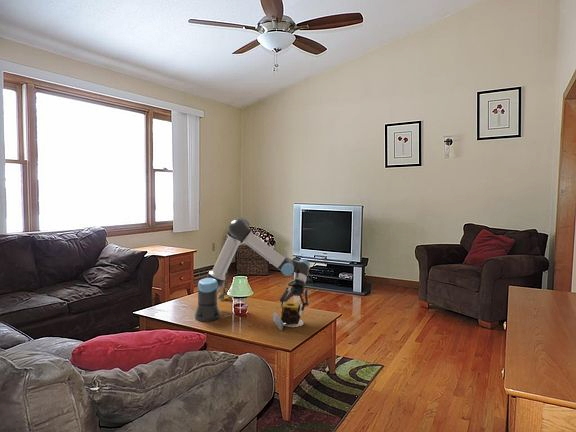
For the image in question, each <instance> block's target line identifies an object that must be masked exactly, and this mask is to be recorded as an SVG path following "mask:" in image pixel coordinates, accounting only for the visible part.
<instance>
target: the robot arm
mask: <svg viewBox="0 0 576 432" xmlns="http://www.w3.org/2000/svg"><path fill="white" fill-rule="evenodd" d="M226 237H227V239H226V240H225V241H224V244H223V247H222V249H221V251H220V253H219V255H218V257H217V260H216V262H215V264H214V265H213V268H212V270H209V271H208V273H207V275H206V277H204V278H202V279H200V280H198V283H197V308H196V311H195V314H194V319H195V320H196V321H199V322H213V321H217V320H219V319H220V318H221V312H220V310H219V309H220V308H219V307H218V294H219V292H221V291H222V290H223V285H224V281H225V273H226V271H227V270H228V269H229V267H230V265H231V262H232V260H233V259H234V256H235V254H236V252H237V250H238V248H239V246H240V243H241V244H245V245H247V246H248V247H249V248H250V249H252V250H253V251H254V252H256V253H257V254H258V255H260V256H261V257H262V258H264V259H265V260H266V261H268V262H269V263H270V264H271V265H273V266H274V267H275V268H277V269H278V270H279V271H280V272H281V274H283V276H286V277H287V276H288V277H289V276H292V274H295V275H294V278H293V281H292V286H291V288H290V287H285V291H284V293H282V295H281V296H280V298H279V302H280V303H281V305H280V308H281V309H280V313H281V312H282V305H283V304H284V302H289V301H288V300H290V299H291V298H292V297H294V296H296V297H299V298H300V301H301V302H302V303H300V310H299V316H300V317H302V312H303V311H305V308H306V306H307V307H308V306H309V297H308V295H309V290H308V289H305V286H306V281H307V277H308V275H309V270H310V266H311V262H310V261H309V260H307V259H300V260H299V261H298V260H294V259H291V258H289V257H285V256H283V255H282V254H280V253H279V252H277V251H276V250H275V249H273V248H272V247H271V246H270V245H269V244H267V243H266V242H264V241H263V239H261V238H259V237H258V236H257V235H256V234H254V233H253V230H252V229H251V227H250V222H249V220H248V219H246V218H244V217H236V218H235V219H233V220H232V221H230V223H229V225H228V230H227V233H226ZM302 294H304V297H303V296H302ZM303 298H304V299H303ZM304 300H305V301H304Z"/></svg>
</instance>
